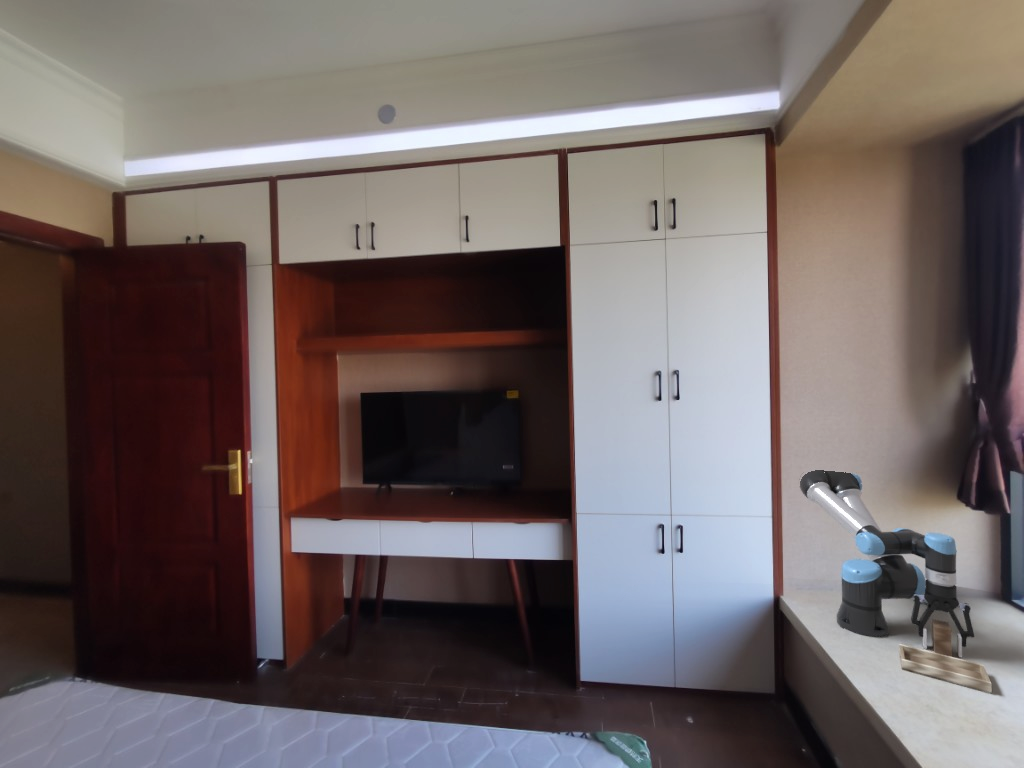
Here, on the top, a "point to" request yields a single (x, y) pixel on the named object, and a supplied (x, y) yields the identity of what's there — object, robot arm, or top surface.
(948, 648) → the tan wooden block
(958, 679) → the open wooden box
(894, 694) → the top surface
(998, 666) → the top surface
